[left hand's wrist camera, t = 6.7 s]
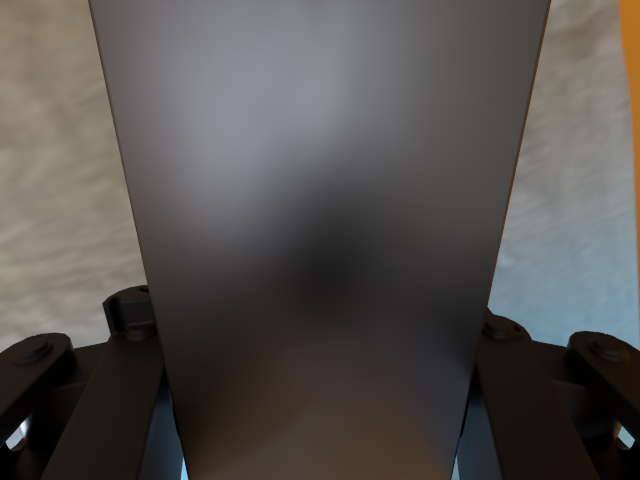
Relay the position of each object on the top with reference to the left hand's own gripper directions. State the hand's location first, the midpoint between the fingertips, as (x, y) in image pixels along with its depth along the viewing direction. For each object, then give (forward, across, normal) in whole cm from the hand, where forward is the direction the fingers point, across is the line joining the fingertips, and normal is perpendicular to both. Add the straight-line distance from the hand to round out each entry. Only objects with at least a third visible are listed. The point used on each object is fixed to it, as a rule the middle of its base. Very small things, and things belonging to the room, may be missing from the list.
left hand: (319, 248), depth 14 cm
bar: (+1, 0, -8) cm, 8 cm away
